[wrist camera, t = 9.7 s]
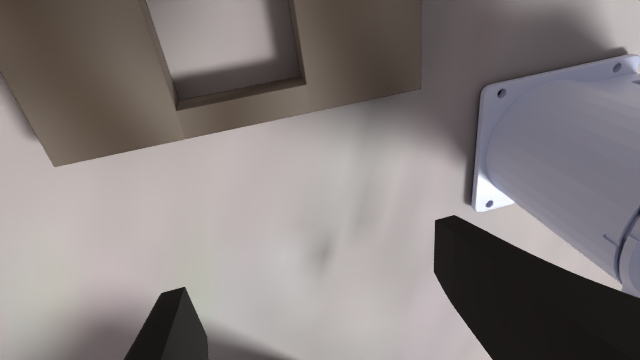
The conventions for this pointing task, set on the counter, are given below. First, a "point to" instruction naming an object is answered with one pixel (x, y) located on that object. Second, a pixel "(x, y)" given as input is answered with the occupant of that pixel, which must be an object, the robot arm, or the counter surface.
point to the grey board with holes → (156, 83)
